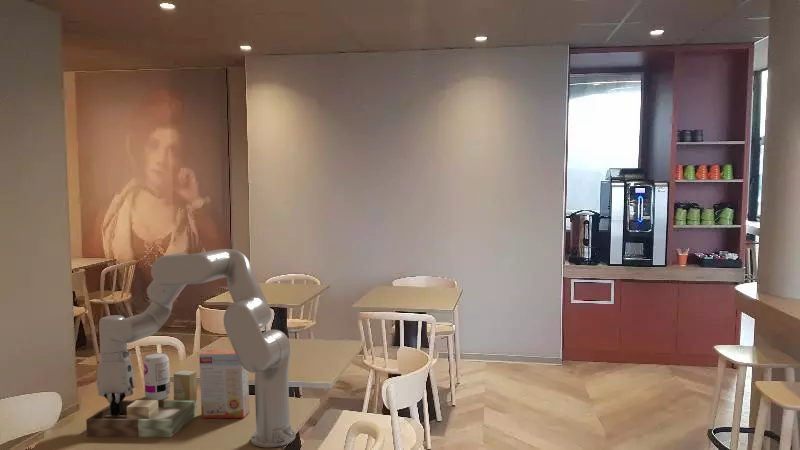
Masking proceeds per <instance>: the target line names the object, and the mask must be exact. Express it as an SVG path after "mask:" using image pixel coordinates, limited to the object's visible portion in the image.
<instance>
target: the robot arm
mask: <svg viewBox="0 0 800 450" xmlns="http://www.w3.org/2000/svg"><path fill="white" fill-rule="evenodd" d="M150 269H151V270H150V273H151V275H150V276H151V278H152V279H153V280H152V281H151V283H150V284H149V285H148V286H147V288H146V295H147V297H148V298H149V299H150V300H151V303H150V304H149V305H148V307H146V309H145V310H144V311H143V312H142V313H139V314H135V315H132V316H129V317H125V316H123V315H120V314H115V315H107V316H104V317H101V318H100V319H99V322H98V328H99V329H98V330H99V332H98V333H99V349H100V350H99V351H100V352H99V353H100V355H99V356H100V360H99V361H98V366H97V372H96V389H97V392H98V394H97V395H98V396H100V397H104V398H105V399H107V403H109V405H110V411H111V415H112V416H114V415H115V416H117V415H119V414H120V413H121V412H122V400H125V398H127V397H130V396H132V395H134V391H133V389H134V388H135V387H136V386H135V381H136V380H135V375H134V369H133V368H134V367H133V363H132V360H131V358H129V357H131V356H132V352H131V351H128V344H131V343H134V342H137V341H140V340H142V339H144V338H149V337H150V336H153V335H154V334H156V333H157V332H159V330H160V329H161V328H162V326H164V324H165V323H166V322H167V320H168V319H169V317H170V315H171V314H172V310H173V304H174V301H175V300H176V299H177V298H178V297H179V295H180V293H181V292H182V291H183V290H184V288H186V286H187V285H196V284H197V285H198V284H205V283H208V282H212V281H216V280H218V279H223V278H226V279H227V283H226V284H227V289H228V293H229V294H230V296H231V297H230V298H231V299H232V302H233V303H231V304H230V305H228V307H227V308H226V310H225V311H224V314H223V315H224V316H223V326H224V329H225V332H226V335H227V337H228V339H229V341H230V344H231V347H232V350H234V351H235V353H236V355H237V358H238V360H239V362H240V363H241V365H242V366H243V367H244V368H245V369H246V370H247V371H248V373H252V374H254V394H255V395H254V402H255V425H256V426H255V428H256V432H254V433H253V434H251V437H250V442H251V444H252V445H254V446H256V447H260V448H266V449H267V448H276V447H277V448H278V447H282V446H285V445H289V444H290V443H291V442H293V441H294V440H295V439H296V431H295V430H294V429H292V425H291V424H290V391H289V389H290V387H289V384H290V381H289V366H290V357H291V343H290V340H289V337H288V335H286V333H284V332H283V331H281V330H279V329H269V330H265V331H263V332H262V330H261V329H262V328H264V327H266V325H268V324H269V323H270V322H271V319H272V310H271V308H270V304H269V303H268V301H267V297H265V294H264V292H263V289H262V287H261V285H260V284H259V281H258V280H257V277H256V275H255V272H254V269H253V266H252V263H251V262H250V260H249V258H248V257H247V256H246V255H245V254H244V253H243V252H241V251H239V250H237V249H231V248H221V249H220V248H219V249H213V250H209V251H202V252H196V253H184V252H179V253H172V254H167V255H162V256H160V257H159V258H157V259H156V260H155V261H154V262H153V264H152V265H151V268H150Z"/></svg>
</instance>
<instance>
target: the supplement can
mask: <svg viewBox="0 0 800 450" xmlns="http://www.w3.org/2000/svg"><path fill="white" fill-rule="evenodd" d="M143 373H144V374H143V375H144V379H143V380H144V398H145V400H166V399H168V398H169V396H170V395H171V381H170V379H171V378H170V374H171V373H170V358H169V356H168V355H167V353H164V352H160V353H159V352H157V353H152V354H151V353H150V354H148V355H146V356H145V357H144V360H143Z"/></svg>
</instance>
